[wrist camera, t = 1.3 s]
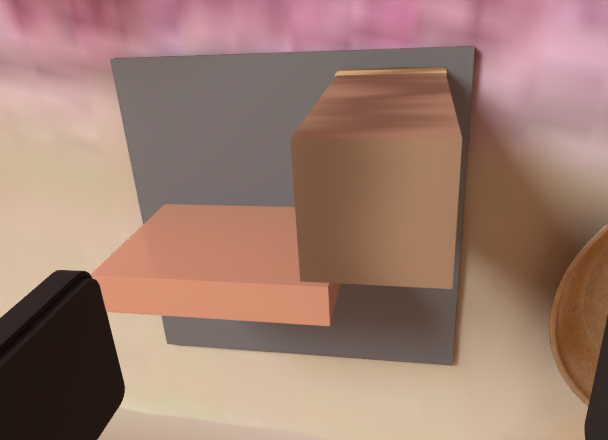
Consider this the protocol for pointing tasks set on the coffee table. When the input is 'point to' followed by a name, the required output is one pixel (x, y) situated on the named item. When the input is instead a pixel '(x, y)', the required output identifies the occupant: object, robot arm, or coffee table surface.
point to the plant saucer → (581, 315)
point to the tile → (215, 267)
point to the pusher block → (379, 180)
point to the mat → (277, 182)
